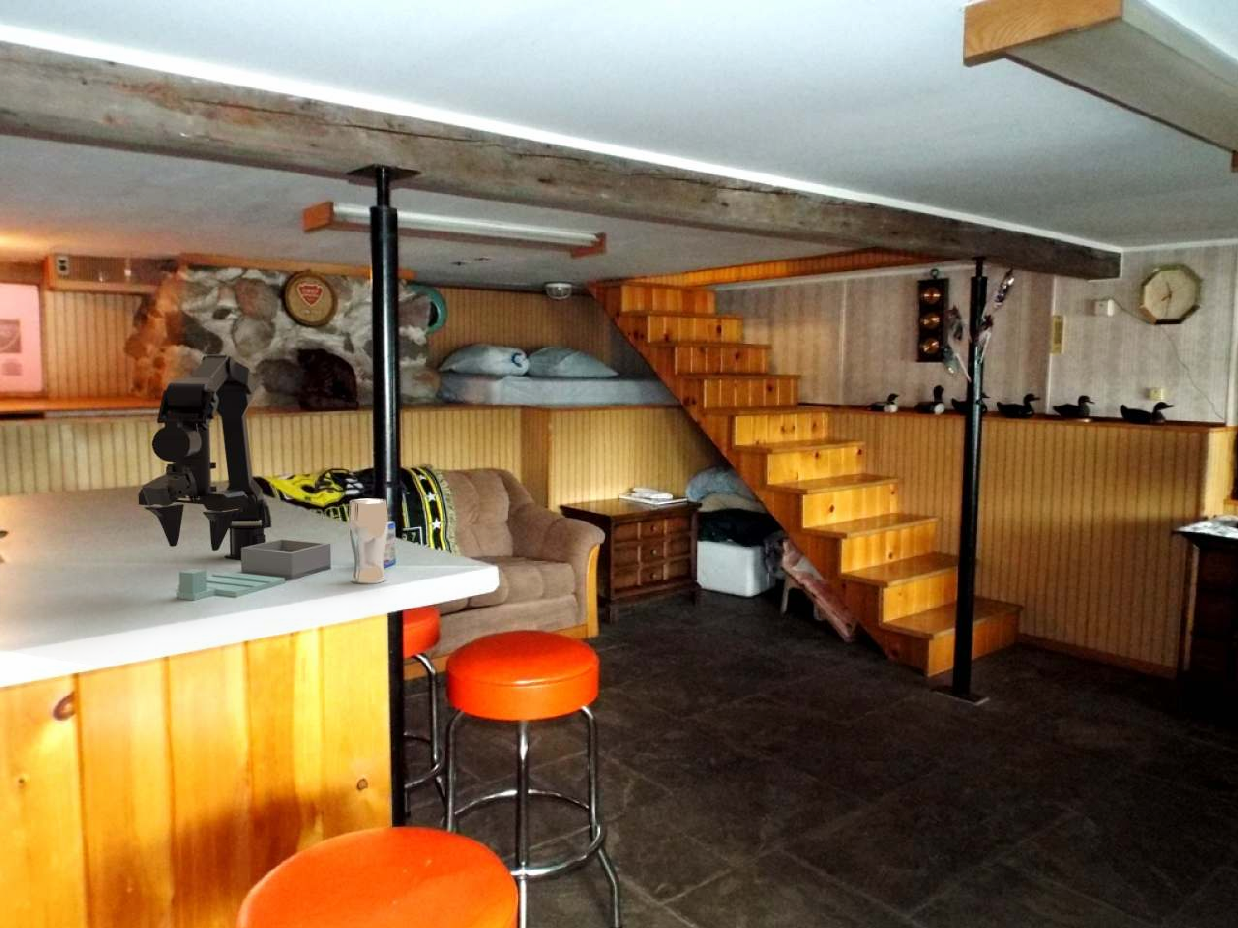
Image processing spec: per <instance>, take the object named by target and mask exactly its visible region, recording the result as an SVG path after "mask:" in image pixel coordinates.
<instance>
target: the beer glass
mask: <svg viewBox="0 0 1238 928" xmlns="http://www.w3.org/2000/svg"><path fill="white" fill-rule="evenodd" d="M348 512H349V513H348V532H349V539H350V543H351V549H352V553H353V571H352V578H351V581H352V582H353V583H355V584H360V585H363V584H364V585H368V584H369V585H370V584H371V585H372V584H378V583H383V582H385V581H386V579H387V576H386V572H385V568H384V562H383V560H384V550H385V545H386V538H387V530H388V522H389V521H388V520H389V517H388V506H387V499H385V498H372V497H371V498H370V497H369V498H357V499H356V498H355V499H351V500H350V501H349V511H348Z"/></svg>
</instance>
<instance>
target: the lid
mask: <svg viewBox="0 0 1238 928" xmlns="http://www.w3.org/2000/svg"><path fill="white" fill-rule="evenodd" d="M283 584H286V579H285V578H277V577H268V576H259V575H250V574H242V573H239V572H230V571H229V572H225V573H221V574H216V573H214V574H211V576H208V577H207V570H205V569H196V568H192V569H191V568H190V569H187V570H183V571H178V585H177V589H178V591H177V592H176V598H177V599H182V600H188V601H189V600H190V601H198V600H202V599H205V598H209V597H213V596H222V597H231V598H240V597H242V596H243V597H244V596H246V595H250V594H253V593H255V592H256V593H257V592H259V591H263V590H266V589H270V588H273V587H276V586H280V585H283Z"/></svg>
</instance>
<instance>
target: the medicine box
mask: <svg viewBox="0 0 1238 928" xmlns="http://www.w3.org/2000/svg"><path fill="white" fill-rule="evenodd" d="M396 548H397V546H396V523H395V521H388V530H387V538H386V545H385V550H384V560H383V562H384V569H386V568H388V567H391V566H392V565H395V564H396V561H397V559H396V556H397V555H396V551H397V549H396ZM387 566H388V567H387ZM385 567H386V568H385Z"/></svg>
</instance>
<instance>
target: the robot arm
mask: <svg viewBox="0 0 1238 928" xmlns="http://www.w3.org/2000/svg"><path fill="white" fill-rule="evenodd" d="M201 360H202V361H201V363H200V364H199V365H198V366H197V368H195V370H194V371H193V372H192V373H191V374H190V375H189V376H188V377H186V378H180V379H175V380H173V381H171V382H169V384H168V385H167V386H166V388H165V389H164V390H163V392H162V397H161V401H160V405H159V411H158V415H157V419H156V423H157V424H164V426H163V427H161V428H159V429H158V430H157V431H156V432H155V434H154V435H153V438H152V441H151V448H152V450H153V453H154V454H155V455H156V457H157V458H158V459H160V460H162V461H163V462H166V463H167V462H168V463H167V464H166V466H165V474H163V475H160V476H157V477H156V478H154V479H151V480H150V481H148V482H147V483H146V484H143V485H142V486H141V488H142V489H141V490H140V491H139V493H138V505H140V506H145V507H144V509H145V510H146V511H149V512H150V513H152V514H153V515H155V516H156V518H157V519H158V521H159V524H160V525H161V527H162V530H163V532H164V535H165V537H166V539H167V542H168V544H169V547H171V548H173V547H177V545H178V543H179V538H180V534H181V533H180V532H181V525H182V519H183V512H184V506H185V504H194V505H203V506H204V508H205V509H206V510H207V511H203V515H204V516H205V517H206V519H207V520H208V523H209V537H210V540H209V541H210V546H211V551H213V552H216V551H219V549H220V548H221V545H222V544H223V541H224V538H225V537H226V535H227V533H228V531H229V551H230V552H229V553H227V554H225V555H224V558H229V559H234V560H235V559H238V560H241V548H244V547H248V546H252V545H257V544H261V543H266V542H267V541H266V539H267V538H266V534H265V529H268V528H272V516H271V511H270V506H269V505H268V502H267V500H266V499H265V498H264V493H263V492H264V491H263V489H262V487H261V486H260V485H259V484H258V482H257V481H256V480H255V479H254V477H253V468H252V458H251V450H250V440H249V431H248V422H247V421H248V420H247V410H248V408H249V406H250V404H251V402H252V401H253V399H254V394H255V391H256V390H255V389H256V382H255V377H254V376H253V374H252V372H251V370H250V368H249V367H246V366H245V365H243V364H241V363H240V362H238V361H236V359H235V357H234V356H233V355H229V354H212V353H211V354H210V353H209V354H206V355H203V357H202V359H201ZM216 413H217V414H218V415H219V416H220V419H221V427H222V437H223V442H224V454H225V462H226V470H227V478H228V479H227V480H228V486H227V487H226V489H224V490H217V489H218V488H217V485H212V479H211V478H212V475H211V470H212V469H217V462H214V461H211V445H210V444H211V439H210V438H211V437H210V427H211V425H210V424H211V421H212V420H215V419H214V418H215V415H216ZM186 496H187V497H186Z"/></svg>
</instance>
